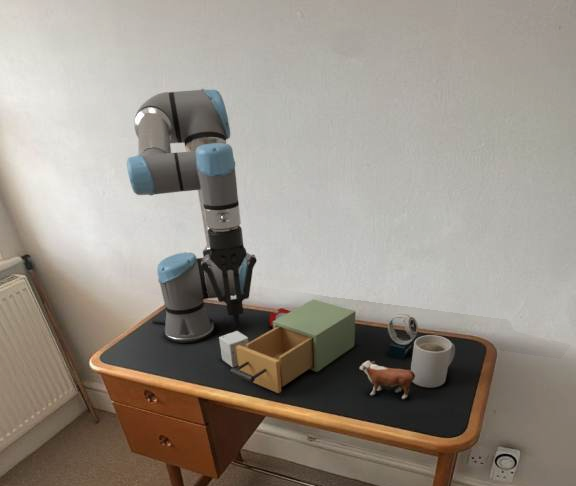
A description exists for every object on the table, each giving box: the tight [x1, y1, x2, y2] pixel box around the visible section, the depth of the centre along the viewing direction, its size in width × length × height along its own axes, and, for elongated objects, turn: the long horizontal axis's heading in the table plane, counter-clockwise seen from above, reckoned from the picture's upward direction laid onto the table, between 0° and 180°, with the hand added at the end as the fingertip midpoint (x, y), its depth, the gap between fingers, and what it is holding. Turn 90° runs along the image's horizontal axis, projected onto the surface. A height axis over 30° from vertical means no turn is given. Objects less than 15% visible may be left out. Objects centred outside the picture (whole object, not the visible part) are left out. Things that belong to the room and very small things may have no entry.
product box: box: [218, 330, 250, 368], centre depth 129 cm, size 6×6×7 cm
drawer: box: [229, 326, 314, 394], centre depth 119 cm, size 22×14×9 cm, turn 139°
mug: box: [410, 334, 456, 388], centre depth 116 cm, size 11×10×10 cm
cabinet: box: [272, 298, 357, 373], centre depth 130 cm, size 18×15×11 cm
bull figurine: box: [359, 360, 415, 400], centre depth 112 cm, size 4×13×8 cm, turn 69°
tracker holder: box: [269, 307, 292, 329], centre depth 148 cm, size 12×4×10 cm
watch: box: [387, 313, 419, 360], centre depth 126 cm, size 6×8×11 cm
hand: (237, 325), depth 116 cm, fingers closed
